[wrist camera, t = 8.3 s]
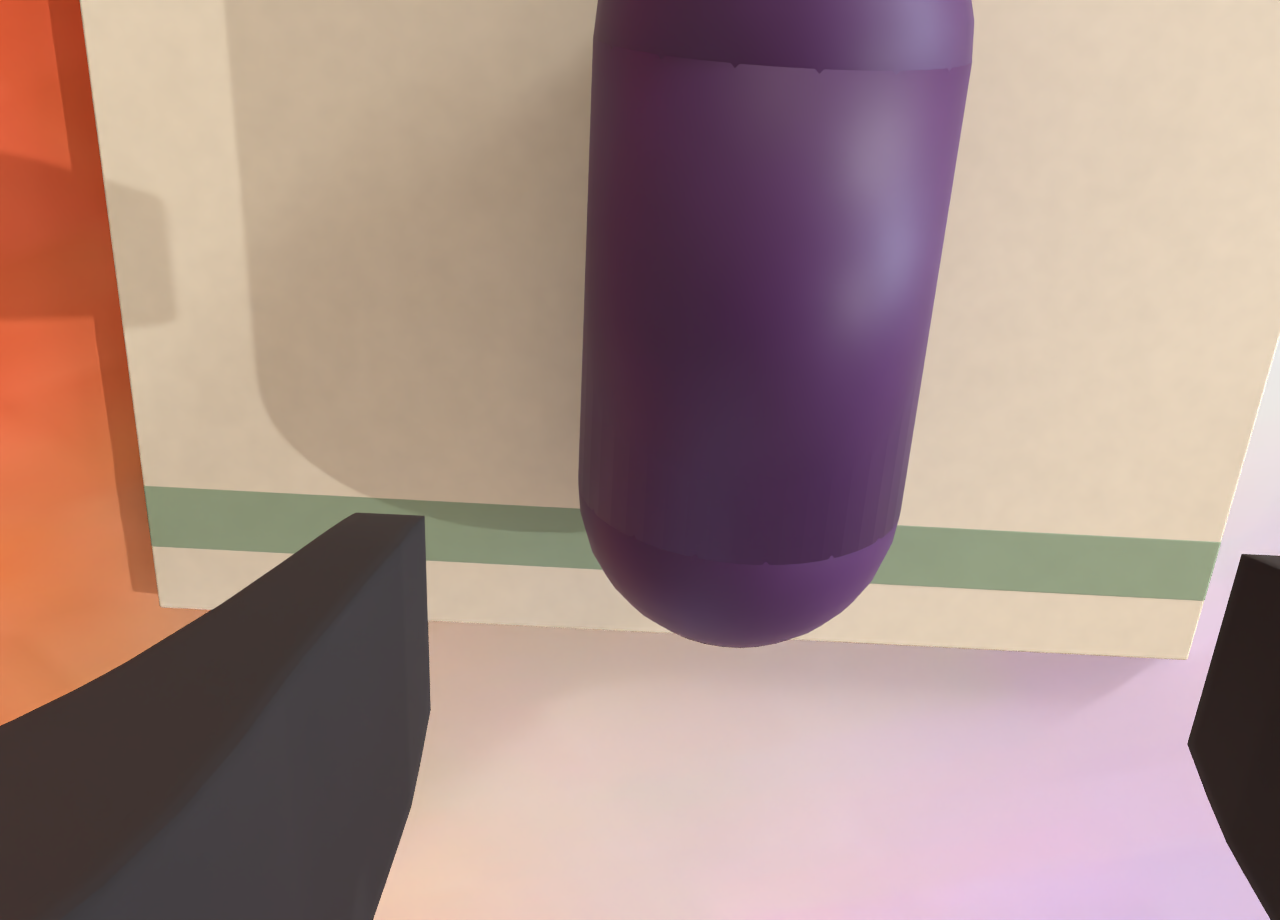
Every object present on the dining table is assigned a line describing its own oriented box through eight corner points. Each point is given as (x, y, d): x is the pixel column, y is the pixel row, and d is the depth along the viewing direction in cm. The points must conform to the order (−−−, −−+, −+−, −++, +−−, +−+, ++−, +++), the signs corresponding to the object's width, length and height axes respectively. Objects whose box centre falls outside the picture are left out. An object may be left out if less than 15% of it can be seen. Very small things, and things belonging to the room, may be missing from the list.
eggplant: (807, 538, 21) (935, 692, 17) (546, 561, 20) (616, 734, 16) (905, -257, 16) (1120, -306, 12) (564, -291, 15) (676, -358, 11)
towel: (167, 596, 21) (159, 608, 21) (47, -341, 16) (32, -347, 15) (1178, 648, 22) (1187, 661, 21) (1434, -260, 16) (1453, -264, 15)
